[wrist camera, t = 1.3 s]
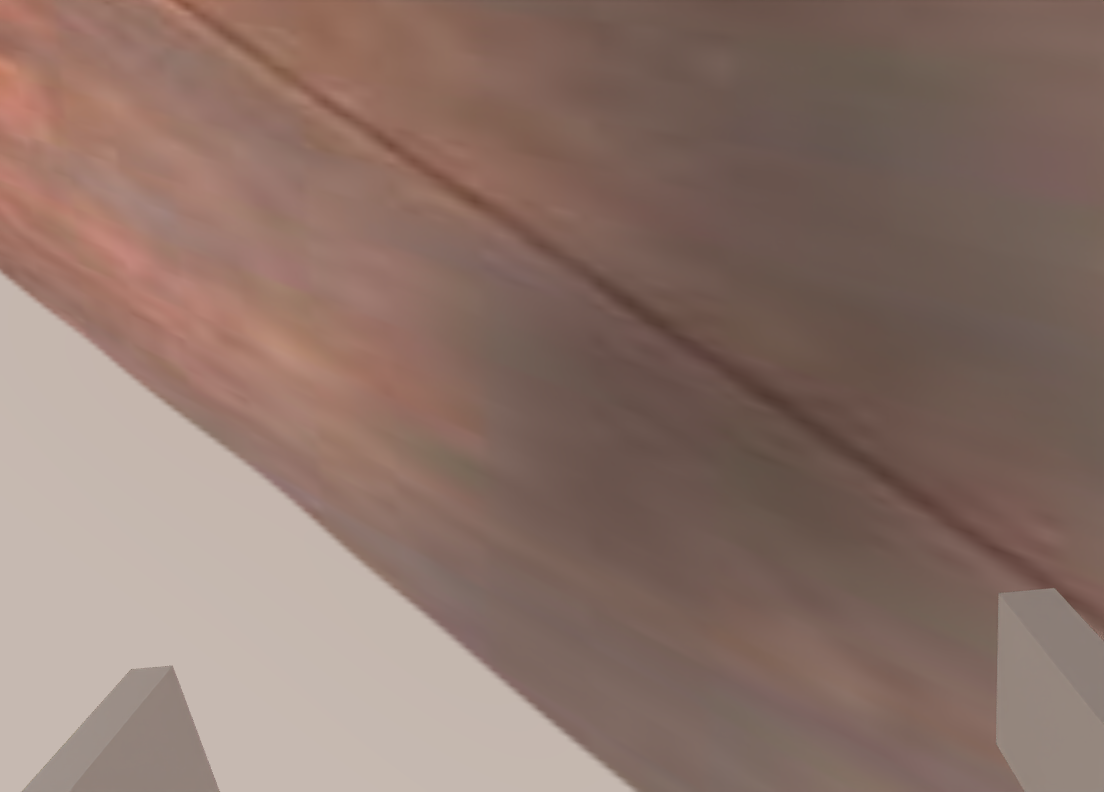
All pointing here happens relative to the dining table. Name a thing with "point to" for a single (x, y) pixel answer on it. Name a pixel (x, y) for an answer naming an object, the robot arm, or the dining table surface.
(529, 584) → the dining table surface
